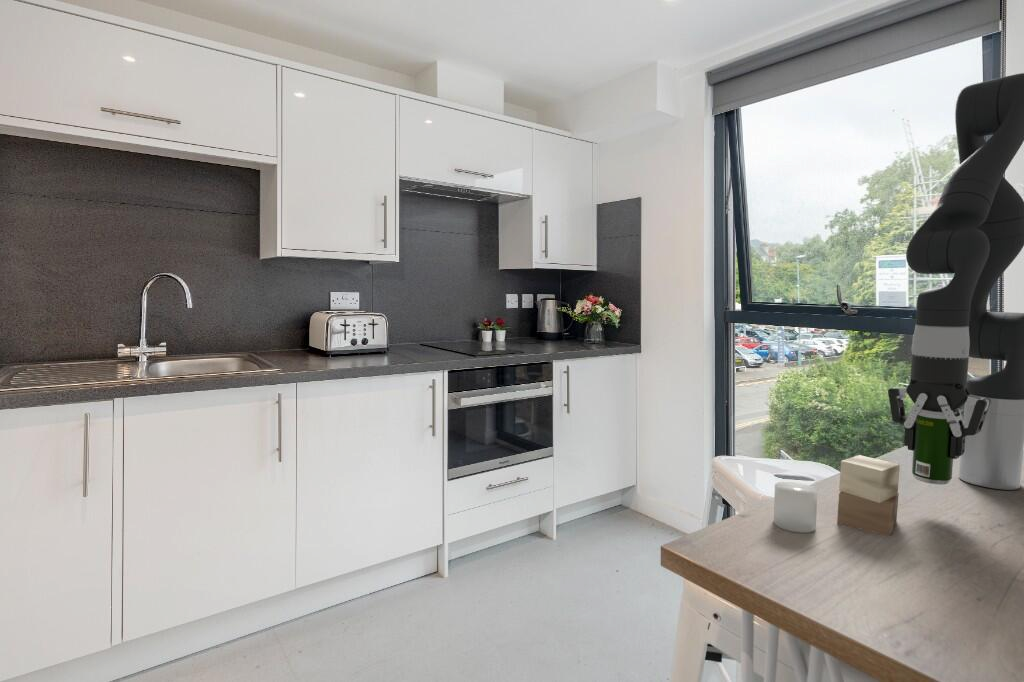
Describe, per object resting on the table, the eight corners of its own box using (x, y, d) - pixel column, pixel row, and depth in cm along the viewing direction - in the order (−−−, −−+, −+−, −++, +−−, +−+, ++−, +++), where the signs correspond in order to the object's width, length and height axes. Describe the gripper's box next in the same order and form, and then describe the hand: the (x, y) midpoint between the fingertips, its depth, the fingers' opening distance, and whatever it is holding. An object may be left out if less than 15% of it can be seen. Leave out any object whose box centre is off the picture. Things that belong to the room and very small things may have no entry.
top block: (857, 484, 95) (859, 455, 95) (897, 495, 90) (899, 464, 90) (839, 491, 92) (841, 460, 91) (879, 502, 87) (882, 470, 87)
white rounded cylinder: (784, 515, 94) (785, 479, 94) (822, 526, 90) (824, 488, 89) (766, 524, 91) (767, 486, 90) (805, 536, 86) (807, 497, 86)
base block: (847, 511, 97) (848, 482, 96) (896, 523, 92) (898, 492, 91) (837, 523, 91) (839, 493, 91) (888, 536, 87) (891, 504, 86)
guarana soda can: (943, 487, 92) (948, 414, 91) (905, 478, 97) (910, 408, 95) (956, 480, 95) (962, 410, 94) (919, 472, 100) (924, 404, 98)
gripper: (1002, 355, 90) (994, 460, 92) (899, 347, 102) (893, 440, 103) (987, 359, 86) (978, 469, 87) (881, 350, 97) (875, 447, 99)
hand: (932, 453), depth 95 cm, fingers closed on guarana soda can, 5 cm apart
